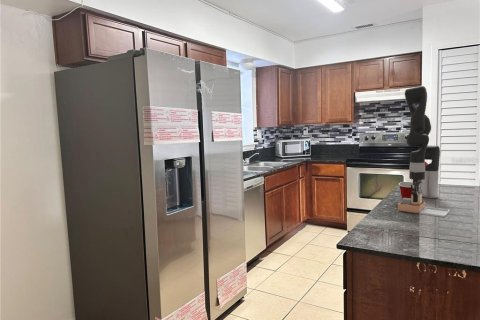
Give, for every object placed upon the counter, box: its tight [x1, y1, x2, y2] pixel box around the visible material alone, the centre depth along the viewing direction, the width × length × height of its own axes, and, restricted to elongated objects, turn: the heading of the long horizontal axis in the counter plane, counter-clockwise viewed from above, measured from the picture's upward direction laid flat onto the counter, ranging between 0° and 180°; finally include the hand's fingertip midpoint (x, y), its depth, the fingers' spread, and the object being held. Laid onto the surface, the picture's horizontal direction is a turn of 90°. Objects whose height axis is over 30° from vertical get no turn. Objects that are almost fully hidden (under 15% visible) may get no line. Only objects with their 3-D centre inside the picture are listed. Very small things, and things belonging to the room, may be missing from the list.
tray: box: [419, 206, 451, 218], centre depth 176 cm, size 14×12×1 cm
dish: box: [397, 200, 426, 214], centre depth 183 cm, size 12×11×4 cm
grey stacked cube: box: [401, 198, 412, 205], centre depth 185 cm, size 4×4×5 cm
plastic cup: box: [398, 181, 415, 200], centre depth 198 cm, size 11×11×12 cm
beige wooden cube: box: [411, 194, 423, 204], centre depth 181 cm, size 4×4×5 cm
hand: (416, 201), depth 181 cm, fingers closed on beige wooden cube, 4 cm apart
